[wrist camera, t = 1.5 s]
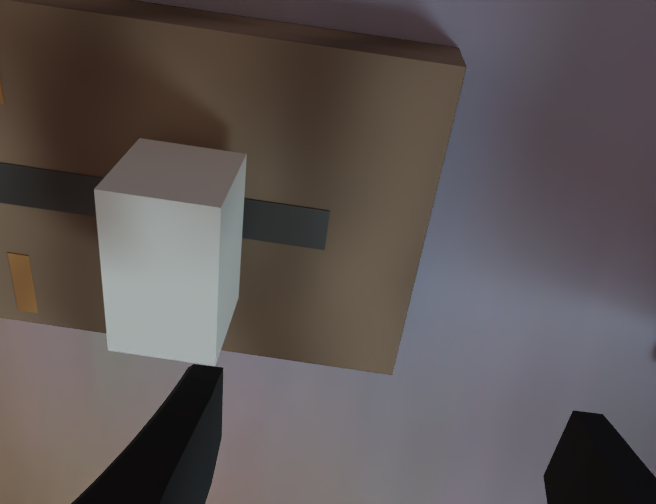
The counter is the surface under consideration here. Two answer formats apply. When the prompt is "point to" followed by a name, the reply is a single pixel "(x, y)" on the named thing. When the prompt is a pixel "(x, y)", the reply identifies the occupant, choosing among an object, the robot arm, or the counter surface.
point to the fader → (171, 249)
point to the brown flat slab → (236, 136)
